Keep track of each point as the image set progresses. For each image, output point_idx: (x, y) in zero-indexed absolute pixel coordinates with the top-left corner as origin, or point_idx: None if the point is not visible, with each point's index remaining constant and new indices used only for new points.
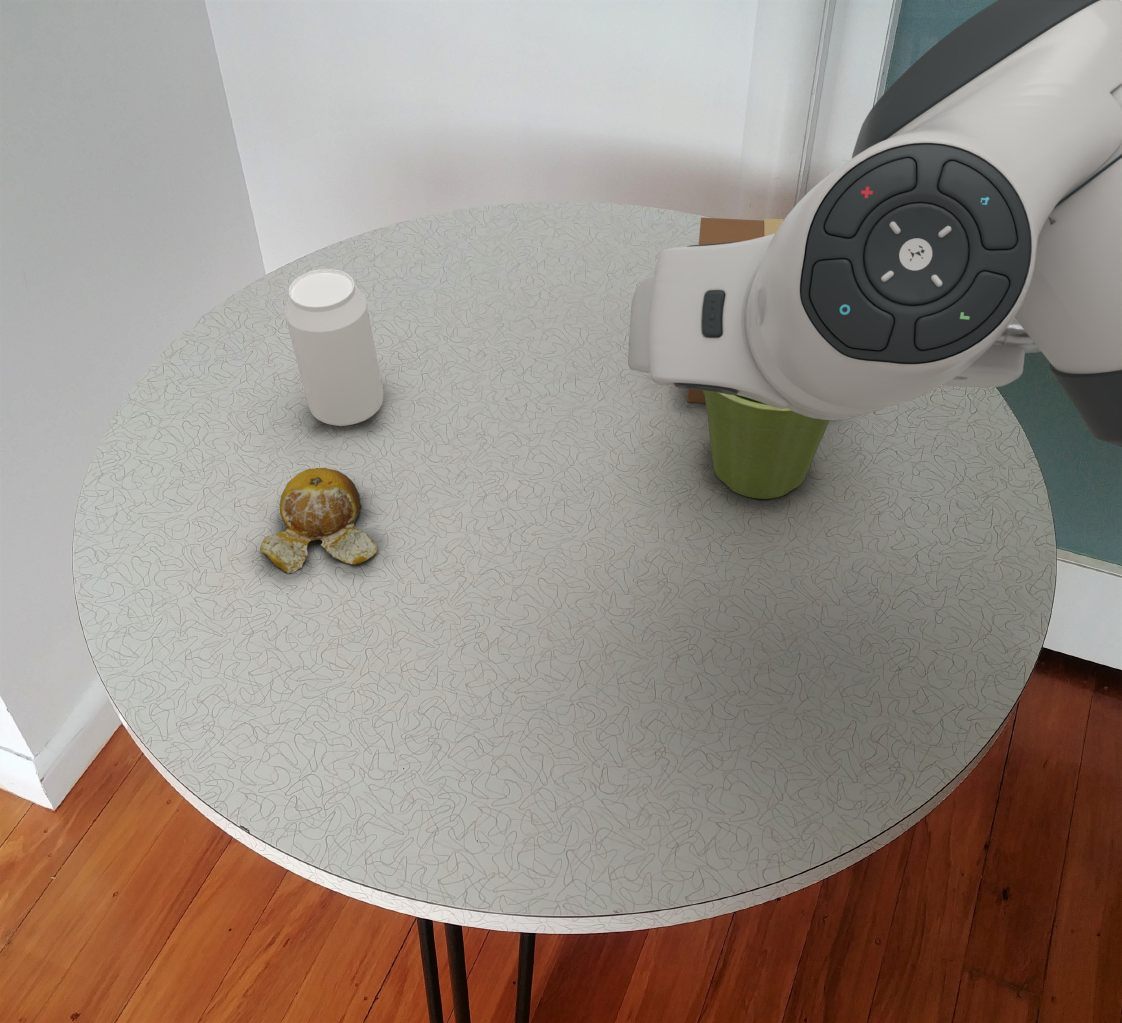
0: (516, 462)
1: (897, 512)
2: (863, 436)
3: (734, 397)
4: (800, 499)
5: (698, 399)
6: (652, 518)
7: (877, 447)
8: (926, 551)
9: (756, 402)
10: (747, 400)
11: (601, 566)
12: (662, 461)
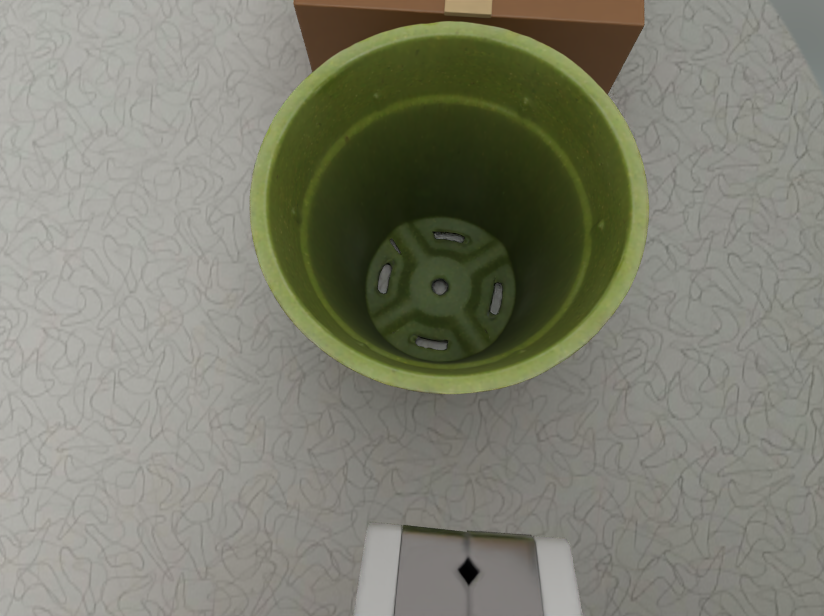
0: (41, 287)
1: (658, 384)
2: None
3: (335, 349)
4: None
5: None
6: (257, 408)
7: None
8: (698, 470)
9: (435, 183)
10: (365, 359)
11: (166, 518)
12: None
